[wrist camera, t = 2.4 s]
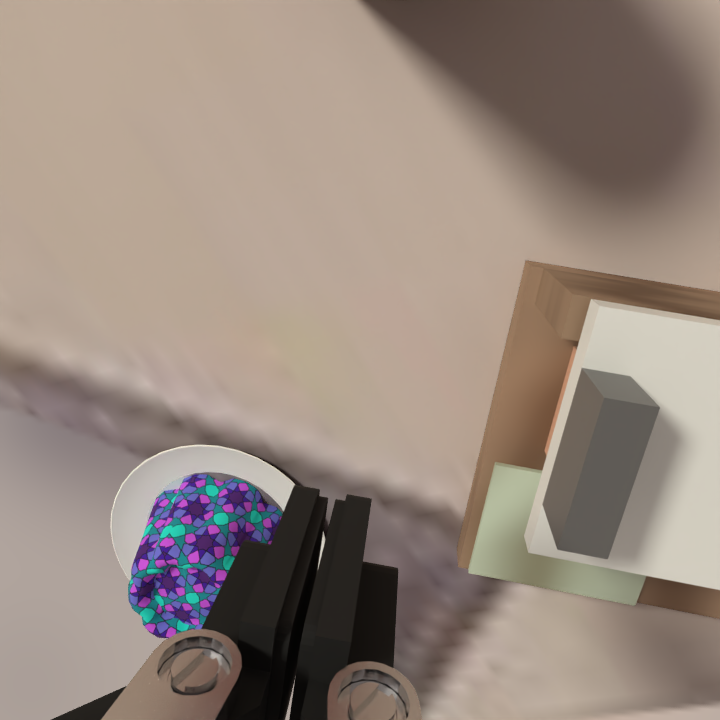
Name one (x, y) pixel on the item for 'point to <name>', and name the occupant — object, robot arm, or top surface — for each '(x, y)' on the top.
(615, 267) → the top surface
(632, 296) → the puzzle board
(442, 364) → the top surface
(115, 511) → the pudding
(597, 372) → the sliding lid
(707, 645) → the top surface
